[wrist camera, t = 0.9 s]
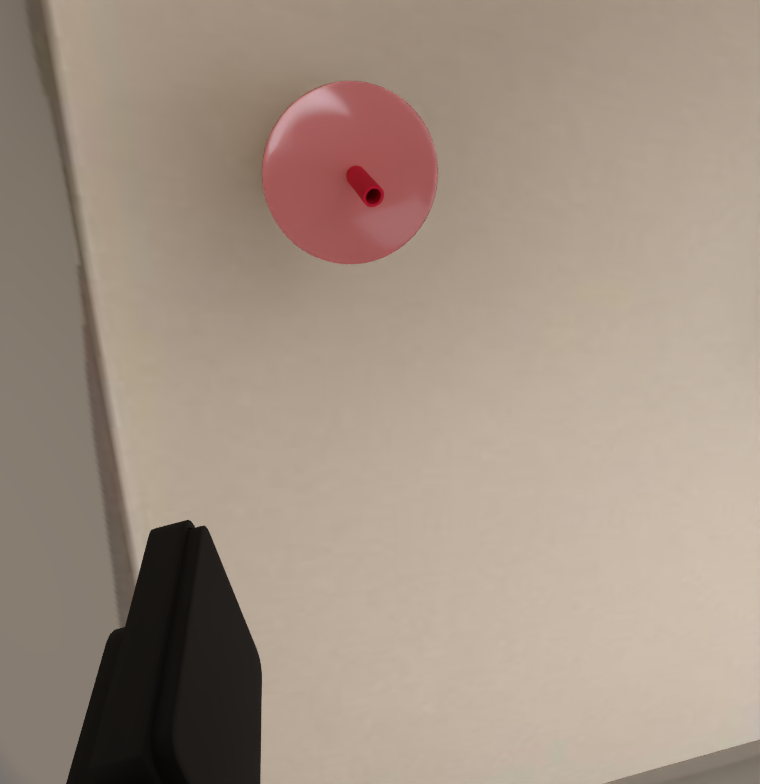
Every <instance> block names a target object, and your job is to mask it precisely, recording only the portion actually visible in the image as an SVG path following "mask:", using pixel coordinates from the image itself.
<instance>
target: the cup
mask: <svg viewBox="0 0 760 784" xmlns="http://www.w3.org/2000/svg"><path fill="white" fill-rule="evenodd" d="M262 181H263V189H264V194H265V198H266V201H267V204H268V207H269V209H270V212H271V214H272V216H273V218H274V220H275V221H276V223H277V224H278V226H279V227H280V229H281V230H282V231H283V233H284V234H285V235H286V236H287V237H288V238H289V239H290V240H291V241H292V242H293V243H294V244H296V245H297V246H298V247H299V248H301V249H302V250H304V251H305V252H307V253H309V254H311V255H313V256H315V257H317V258H320V259H322V260H325V261H329V262H333V263H340V264H360V263H366V262H371V261H374V260H377V259H380V258H383V257H385V256H387V255H389V254H391V253H393V252H394V251H396V250H398V249H399V248H400V247H402V246H403V245H404V244H405V243H407V242H408V241H409V240H410V239H411V238H412V237H413V236H414V235H415V234H416V232H417V231H418V230H419V229H420V227H421V226H422V224H423V223H424V221H425V219H426V218H427V216H428V214H429V211H430V209H431V207H432V204H433V201H434V198H435V194H436V189H437V181H438V164H437V156H436V151H435V147H434V144H433V141H432V138H431V136H430V133H429V131H428V129H427V127H426V126H425V124H424V122H423V121H422V119H421V118H420V116H419V115H418V114H417V113H416V111H415V110H414V109H413V108H412V107H411V106H410V105H409V104H408V103H407V102H406V101H404V100H403V99H402V98H400V97H399V96H398V95H396V94H394V93H393V92H391V91H389V90H387V89H385V88H383V87H380V86H377V85H374V84H370V83H366V82H359V81H341V82H335V83H330V84H326V85H323V86H320V87H318V88H315V89H313V90H311V91H309V92H308V93H306V94H304V95H303V96H301V97H300V98H299V99H297V100H296V101H295V102H294V103H292V104H291V105H290V106H289V107H288V108H287V109H286V111H285V112H284V113H283V114H282V115H281V117H280V118H279V120H278V121H277V123H276V124H275V126H274V128H273V130H272V132H271V134H270V136H269V139H268V141H267V144H266V148H265V152H264V157H263V165H262Z"/></svg>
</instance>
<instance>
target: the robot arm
mask: <svg viewBox="0 0 760 784" xmlns="http://www.w3.org/2000/svg"><path fill="white" fill-rule="evenodd" d="M261 697H262V671H261V664H260V659H259V655H258V652H257V649H256V646H255V644H254V641H253V639H252V636H251V634H250V632H249V629H248V627H247V624H246V622H245V619H244V617H243V614H242V612H241V609H240V607H239V604H238V602H237V599H236V597H235V595H234V592H233V590H232V587H231V585H230V582H229V580H228V577H227V575H226V572H225V570H224V567H223V565H222V562H221V560H220V557H219V555H218V553H217V550H216V548H215V545H214V543H213V540H212V538H211V535H210V533H209V531H208V529H207V528H206V526H200V527H197V528H195V526H194V525H193V523H192V522H191V521H189V520H186V521H182V522H178V523H174V524H170V525H167V526H163V527H159V528H155V529H153V530H151V532H150V534H149V537H148V541H147V545H146V549H145V552H144V556H143V560H142V564H141V568H140V572H139V576H138V580H137V583H136V587H135V591H134V595H133V599H132V603H131V607H130V610H129V614H128V618H127V622H126V626H125V627H123V628H120V629H116V630H114V631H113V632H112V633H111V634H110V636H109V638H108V640H107V643H106V646H105V649H104V653H103V656H102V660H101V664H100V667H99V670H98V674H97V677H96V681H95V684H94V688H93V691H92V695H91V699H90V702H89V706H88V709H87V713H86V716H85V720H84V723H83V727H82V730H81V734H80V737H79V741H78V744H77V748H76V751H75V755H74V758H73V762H72V765H71V769H70V772H69V776H68V780H67V783H66V784H260V762H261ZM604 784H760V740H757V741H753V742H749V743H746V744H742V745H739V746H735V747H732V748H728V749H725V750H721V751H717V752H714V753H710V754H707V755H703V756H700V757H696V758H693V759H689V760H685V761H682V762H678V763H675V764H671V765H668V766H664V767H661V768H657V769H653V770H650V771H646V772H643V773H639V774H636V775H632V776H629V777H625V778H622V779H618V780H615V781H611V782H608V783H604Z"/></svg>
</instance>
